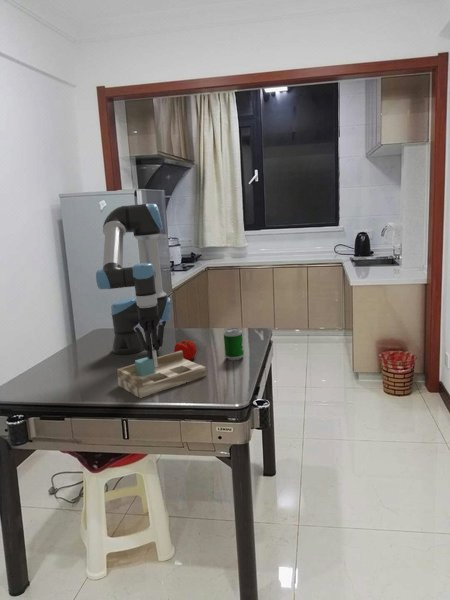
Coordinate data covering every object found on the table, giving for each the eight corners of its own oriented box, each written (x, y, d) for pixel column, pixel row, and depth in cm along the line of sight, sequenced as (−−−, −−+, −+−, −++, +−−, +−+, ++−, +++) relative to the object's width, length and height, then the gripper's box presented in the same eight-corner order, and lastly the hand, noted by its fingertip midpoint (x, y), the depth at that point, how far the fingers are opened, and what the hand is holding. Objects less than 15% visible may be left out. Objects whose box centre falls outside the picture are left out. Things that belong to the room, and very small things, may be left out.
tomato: (180, 364, 207) (178, 346, 205) (172, 358, 215) (170, 341, 213) (201, 359, 211) (199, 342, 210) (192, 354, 219) (190, 337, 217)
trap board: (118, 385, 189) (116, 369, 187) (182, 365, 205) (180, 350, 203) (140, 398, 175) (138, 380, 174) (206, 375, 191) (204, 359, 190)
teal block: (136, 373, 190) (134, 360, 189) (148, 369, 193) (146, 357, 192) (142, 376, 186) (140, 363, 185) (154, 372, 189) (152, 360, 188)
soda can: (242, 360, 205) (240, 332, 202) (224, 361, 206) (221, 332, 204) (245, 354, 212) (243, 327, 209) (227, 355, 214) (225, 327, 211)
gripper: (158, 300, 193) (164, 359, 198) (126, 307, 186) (134, 368, 191) (167, 303, 187) (174, 364, 192) (135, 310, 180) (143, 373, 185)
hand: (154, 366), depth 192 cm, fingers closed
